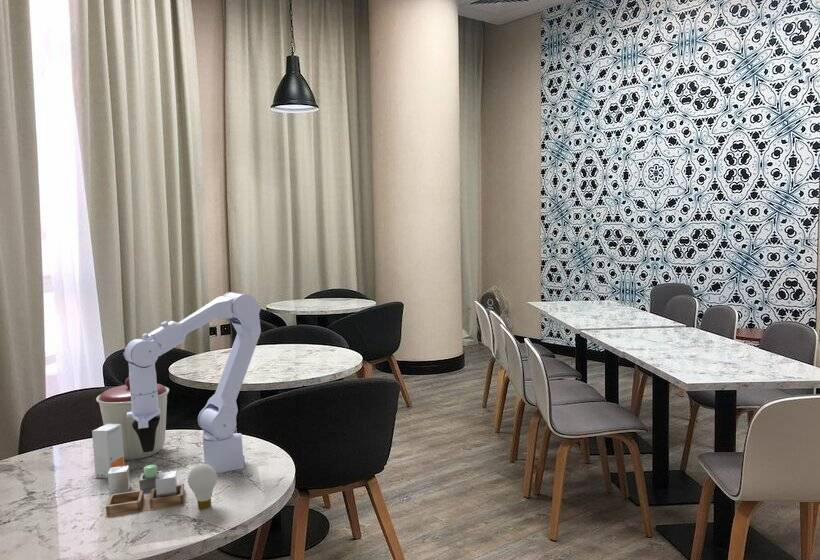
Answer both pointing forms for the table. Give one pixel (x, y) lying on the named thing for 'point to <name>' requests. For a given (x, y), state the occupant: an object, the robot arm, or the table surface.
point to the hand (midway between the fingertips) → (148, 450)
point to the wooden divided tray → (142, 501)
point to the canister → (131, 418)
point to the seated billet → (166, 484)
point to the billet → (119, 479)
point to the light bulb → (202, 484)
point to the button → (150, 471)
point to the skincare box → (107, 448)
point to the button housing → (147, 482)
